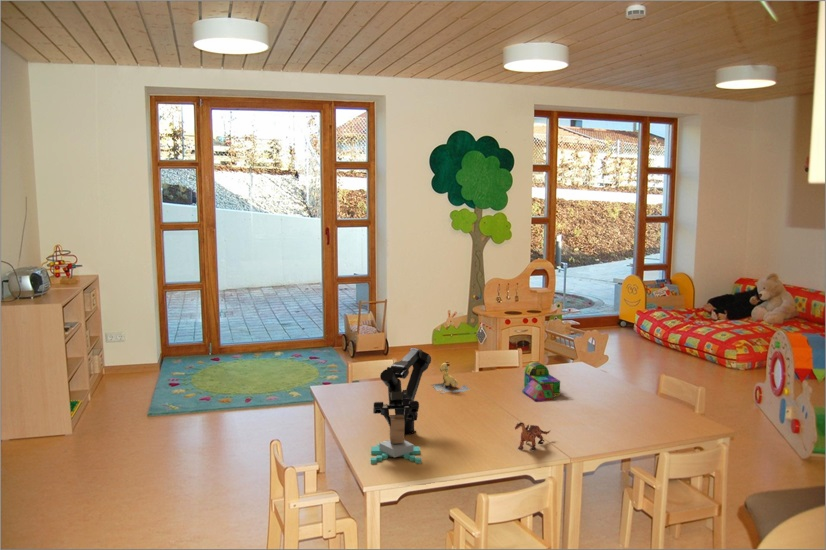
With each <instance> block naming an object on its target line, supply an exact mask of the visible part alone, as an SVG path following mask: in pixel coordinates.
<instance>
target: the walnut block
mask: <svg viewBox="0 0 826 550" xmlns="http://www.w3.org/2000/svg"><path fill="white" fill-rule="evenodd" d="M389 415H390V421H391V427H390V426H389V440H390V442H391V443H404V440H405V435H404V427H405V419H404V416H403V415H395V414H389Z"/></svg>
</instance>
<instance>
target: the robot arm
mask: <svg viewBox="0 0 826 550" xmlns="http://www.w3.org/2000/svg"><path fill="white" fill-rule="evenodd" d="M431 363H432V356H431V355H430V354H429V353H427V352H426V351H423V350H422V349H420V348H415V347H411V348H410V349H409V351H408V353H406V354H405V355H404V357H402V358H401V360H399V361H395V362H394V363H392V364H391V366H387V367H386V368H385V369H384V370H383V371H381V373H380V376H379V377H380V380H381V381H382V383H384V385H385V386H386V387H387V392H388V404H387V403H384V401H375V402H373V407H372V410H373V413H372V414H375V415H376V414H380V416H383V417H384V419H385V421H386V422H387V425H388V426H389V428H390V427H391V421H390V415H391V414H390V411H389V410H394V413H395V414H394V415H403V416H404V419H405V427H404V436H408V435H410V434H414V433H417V430H415V421H417V420H418V416H419V415H418V414H419V413H418V412H419V410H420V402H419V400H415V398H416V396H417V393H418V392H417V391H418V389H419V385H420V382H421V379H422V376H423V373H424V372H425V371H426V370H428V368H429V366H430V364H431ZM411 367H412V371H411V374H410V377H409V380H408V382H407V386H406V388H405V389H402V380H401V379H403V380H405V379H407V377H408V376H409V373H410V370H409V369H410V368H411Z"/></svg>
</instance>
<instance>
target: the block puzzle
mask: <svg viewBox="0 0 826 550" xmlns="http://www.w3.org/2000/svg"><path fill="white" fill-rule="evenodd" d="M523 375H524V377H523V378H524V380H523V383H524V384H523V389H522V392H521V393H522V394H524V395H525V396H527V397H528V398H529V399H531V400H532V401H533V402H534V403H535V402H536V403H537V402H547V401H548V402H549V401H555V399H556V397H561V396H560V393H561V380H560V379H557V377H554V376H553V375H551V374H550V371H549V369H548V367H547V366H546V365H544V364H542V363H540V362H538V361H531V362H530V363H528V364H527V365H526V366H525V369H524V374H523Z"/></svg>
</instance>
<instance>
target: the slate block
mask: <svg viewBox="0 0 826 550" xmlns="http://www.w3.org/2000/svg"><path fill="white" fill-rule="evenodd" d="M378 445H379V450H381V451H383V452H385V453H387V454H388V455H390V456H392V457H393V458H397V457H398V456H401V455H404V454H407V453H410V452H414V447H415V445H414V444H413V443H411V442H409V441H407V440H406V439H404V443H391V442H390V439H388V440H385V441H381V442H379V443H378Z"/></svg>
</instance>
